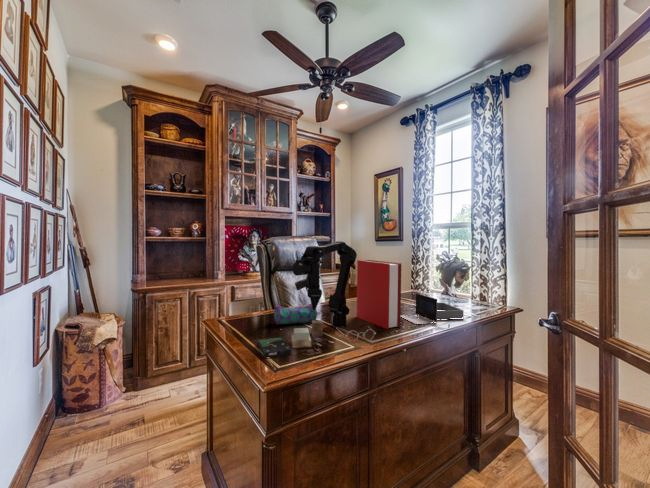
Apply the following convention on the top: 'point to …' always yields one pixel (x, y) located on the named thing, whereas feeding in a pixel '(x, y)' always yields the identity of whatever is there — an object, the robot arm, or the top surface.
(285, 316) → the pencil case
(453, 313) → the charger caddy
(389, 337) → the top surface
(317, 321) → the walnut block
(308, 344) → the tower base
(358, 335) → the eyeglasses
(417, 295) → the laptop
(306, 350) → the top surface
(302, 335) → the tower top
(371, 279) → the book
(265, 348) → the disk drive
